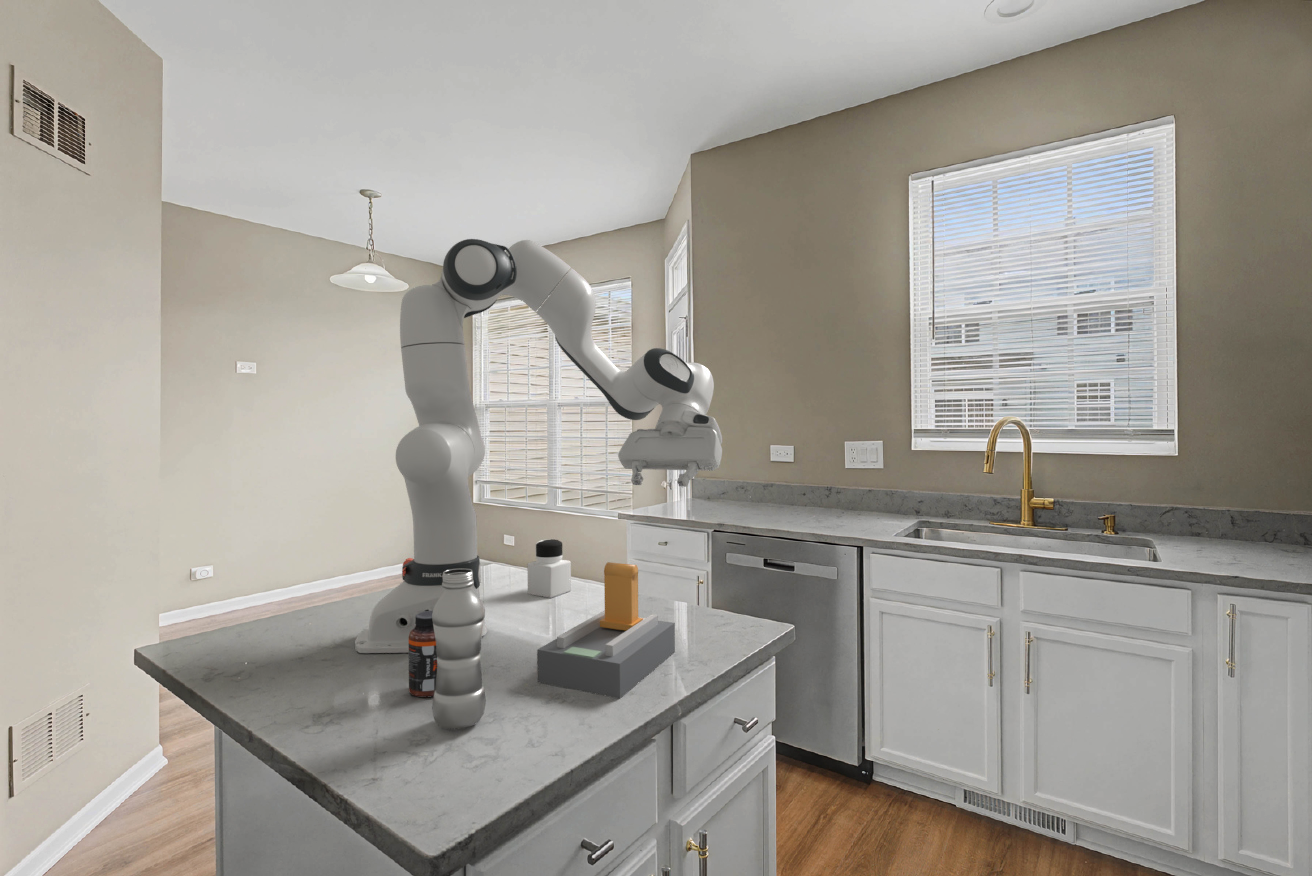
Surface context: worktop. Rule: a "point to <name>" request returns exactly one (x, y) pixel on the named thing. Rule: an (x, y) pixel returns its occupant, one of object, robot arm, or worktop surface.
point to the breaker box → (605, 656)
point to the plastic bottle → (458, 652)
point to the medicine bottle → (549, 570)
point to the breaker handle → (620, 596)
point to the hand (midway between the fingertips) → (658, 483)
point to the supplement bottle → (422, 656)
